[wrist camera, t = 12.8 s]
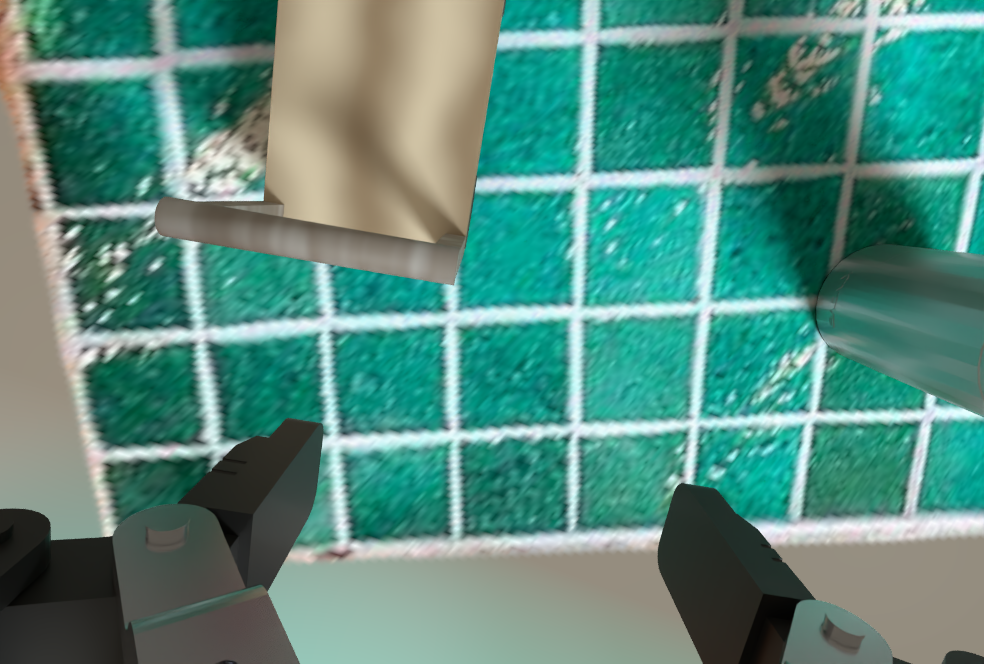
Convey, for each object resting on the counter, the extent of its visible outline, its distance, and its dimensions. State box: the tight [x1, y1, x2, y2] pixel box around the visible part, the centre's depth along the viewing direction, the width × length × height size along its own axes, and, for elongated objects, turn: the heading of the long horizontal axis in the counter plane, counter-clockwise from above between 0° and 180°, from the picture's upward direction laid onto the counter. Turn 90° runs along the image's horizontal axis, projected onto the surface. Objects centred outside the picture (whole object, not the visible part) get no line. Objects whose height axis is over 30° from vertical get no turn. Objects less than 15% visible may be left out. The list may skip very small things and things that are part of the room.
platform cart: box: [155, 0, 506, 285], centre depth 28 cm, size 12×20×19 cm, turn 170°
